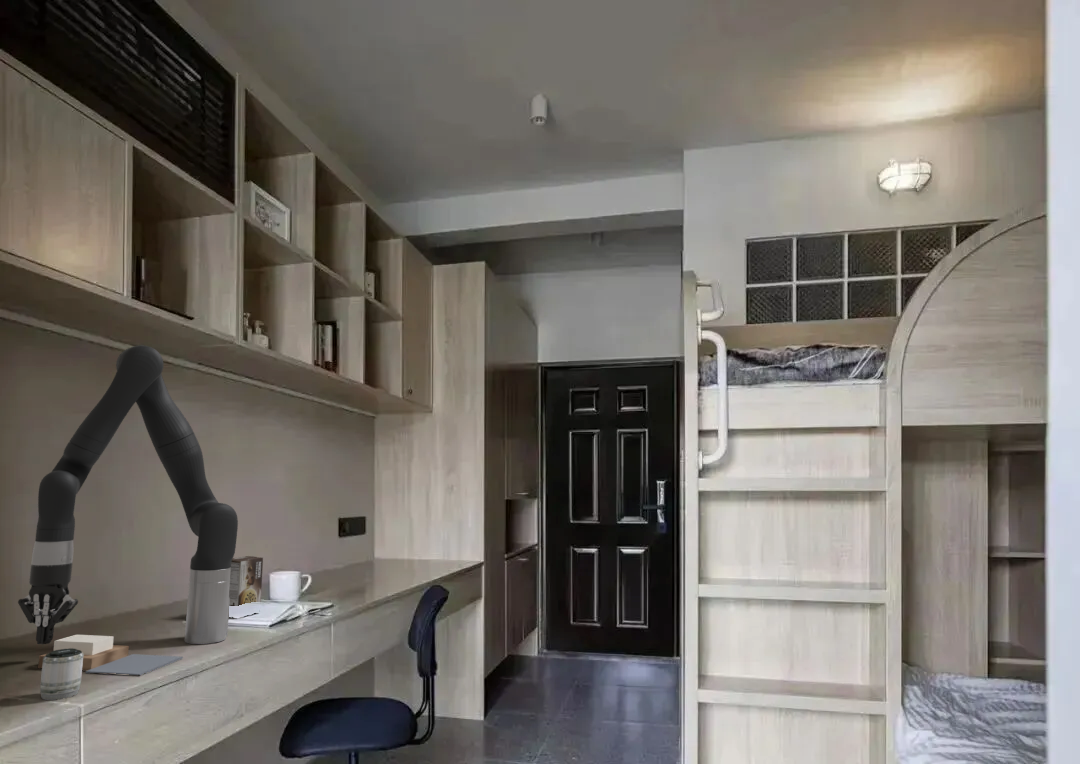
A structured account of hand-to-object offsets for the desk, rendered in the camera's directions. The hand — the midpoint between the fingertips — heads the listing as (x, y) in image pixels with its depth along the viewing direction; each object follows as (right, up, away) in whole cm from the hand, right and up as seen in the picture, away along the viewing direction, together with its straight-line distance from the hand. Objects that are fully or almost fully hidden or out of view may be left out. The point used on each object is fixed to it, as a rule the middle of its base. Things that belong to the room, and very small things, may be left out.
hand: (43, 643), depth 153 cm
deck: (+10, -4, -2) cm, 11 cm away
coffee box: (+21, -11, +50) cm, 56 cm away
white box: (+9, -1, -1) cm, 10 cm away
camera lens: (+19, -1, -23) cm, 30 cm away
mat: (+22, -4, -3) cm, 22 cm away
